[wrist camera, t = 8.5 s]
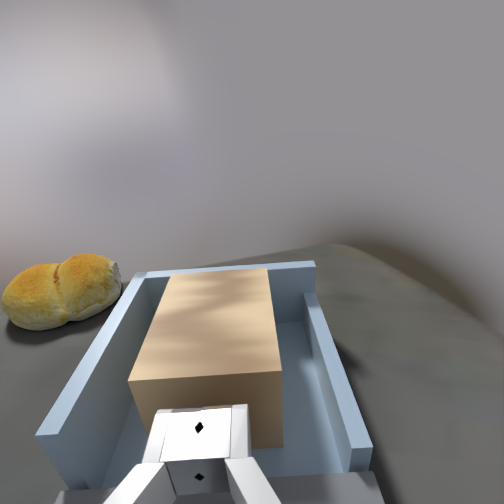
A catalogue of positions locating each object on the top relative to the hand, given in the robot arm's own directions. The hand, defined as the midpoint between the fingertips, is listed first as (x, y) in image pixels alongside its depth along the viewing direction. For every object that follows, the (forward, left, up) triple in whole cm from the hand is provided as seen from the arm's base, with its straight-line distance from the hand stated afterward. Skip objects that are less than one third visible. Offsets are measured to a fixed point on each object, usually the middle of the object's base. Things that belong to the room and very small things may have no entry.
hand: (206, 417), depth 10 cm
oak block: (0, +2, -3) cm, 3 cm away
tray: (0, +6, -6) cm, 8 cm away
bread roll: (-15, +16, -6) cm, 22 cm away
